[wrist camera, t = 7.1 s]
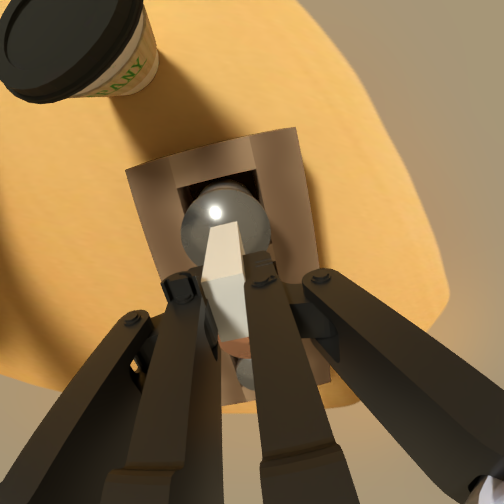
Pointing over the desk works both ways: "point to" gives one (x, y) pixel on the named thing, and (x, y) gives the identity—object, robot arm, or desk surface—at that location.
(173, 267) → the wooden jar holder
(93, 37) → the coffee cup
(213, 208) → the ball
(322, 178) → the desk surface
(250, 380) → the grey plunger rear
